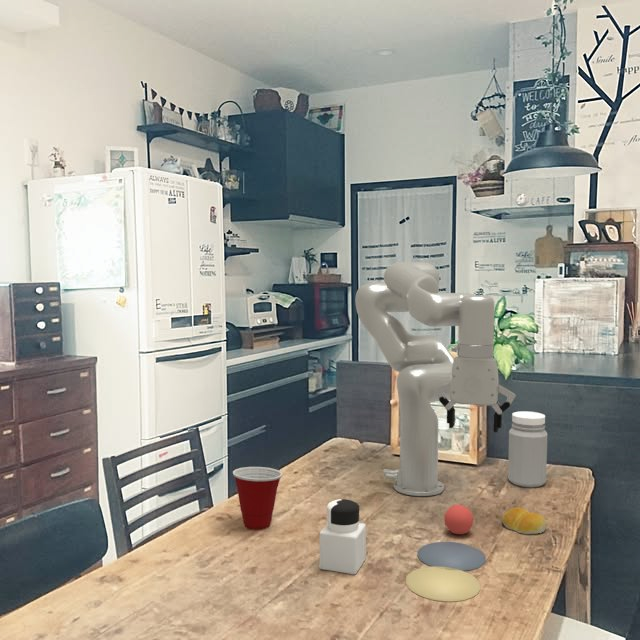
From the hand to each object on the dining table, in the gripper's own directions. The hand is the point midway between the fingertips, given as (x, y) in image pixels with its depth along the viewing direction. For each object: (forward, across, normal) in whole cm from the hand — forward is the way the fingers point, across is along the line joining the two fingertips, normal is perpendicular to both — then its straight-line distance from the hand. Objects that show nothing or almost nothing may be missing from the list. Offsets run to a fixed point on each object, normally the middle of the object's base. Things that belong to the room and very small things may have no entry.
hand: (473, 428), depth 149 cm
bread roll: (+21, +11, 0) cm, 24 cm away
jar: (+21, +9, +31) cm, 39 cm away
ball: (+17, -1, -9) cm, 20 cm away
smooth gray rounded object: (+20, -1, -21) cm, 30 cm away
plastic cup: (+21, -43, -21) cm, 52 cm away
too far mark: (+20, 0, -33) cm, 39 cm away
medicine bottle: (+21, -19, -32) cm, 43 cm away
